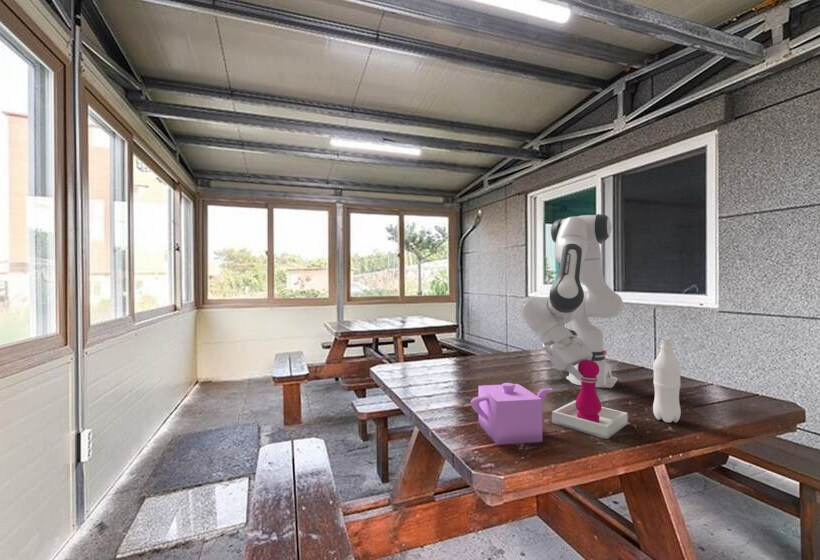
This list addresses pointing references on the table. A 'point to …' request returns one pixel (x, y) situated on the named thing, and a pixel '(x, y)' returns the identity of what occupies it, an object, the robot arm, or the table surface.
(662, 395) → the water bottle
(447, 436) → the table surface
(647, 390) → the table surface
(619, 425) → the tray
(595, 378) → the pepper mill
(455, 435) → the table surface
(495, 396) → the teapot
